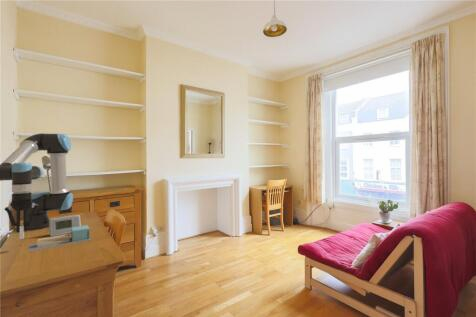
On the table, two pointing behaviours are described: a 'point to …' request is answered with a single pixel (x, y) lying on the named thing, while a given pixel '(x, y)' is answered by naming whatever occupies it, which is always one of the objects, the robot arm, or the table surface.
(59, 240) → the slat
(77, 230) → the end cap
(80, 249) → the table surface
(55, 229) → the digital clock
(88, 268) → the table surface
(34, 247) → the mat
